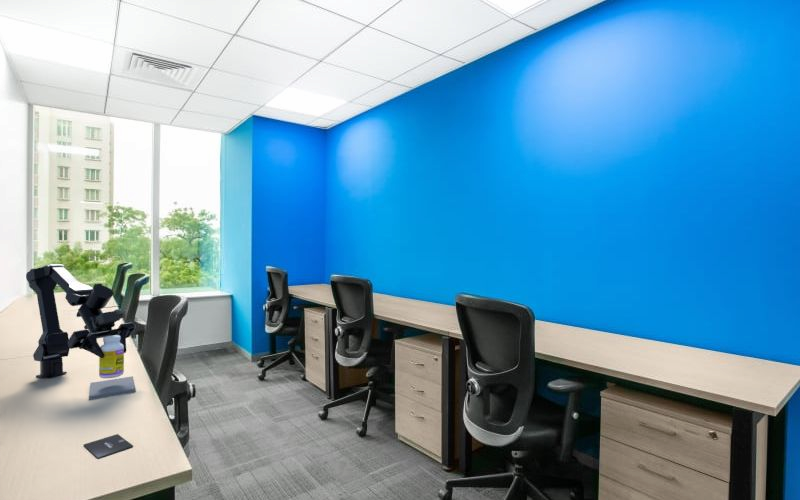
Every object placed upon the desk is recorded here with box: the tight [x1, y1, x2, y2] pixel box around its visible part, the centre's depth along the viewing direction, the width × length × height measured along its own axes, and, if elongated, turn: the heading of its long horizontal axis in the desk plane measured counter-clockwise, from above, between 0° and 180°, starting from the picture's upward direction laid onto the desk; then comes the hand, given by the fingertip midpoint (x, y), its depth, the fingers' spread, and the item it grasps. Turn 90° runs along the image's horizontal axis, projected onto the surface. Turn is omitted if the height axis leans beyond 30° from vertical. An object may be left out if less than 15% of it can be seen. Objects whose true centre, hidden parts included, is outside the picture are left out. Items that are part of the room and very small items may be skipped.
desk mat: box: [88, 375, 137, 401], centre depth 137 cm, size 16×12×1 cm
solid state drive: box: [83, 433, 134, 460], centre depth 97 cm, size 7×10×1 cm
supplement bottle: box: [98, 335, 125, 379], centre depth 137 cm, size 7×7×13 cm
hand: (114, 354), depth 137 cm, fingers closed on supplement bottle, 7 cm apart
